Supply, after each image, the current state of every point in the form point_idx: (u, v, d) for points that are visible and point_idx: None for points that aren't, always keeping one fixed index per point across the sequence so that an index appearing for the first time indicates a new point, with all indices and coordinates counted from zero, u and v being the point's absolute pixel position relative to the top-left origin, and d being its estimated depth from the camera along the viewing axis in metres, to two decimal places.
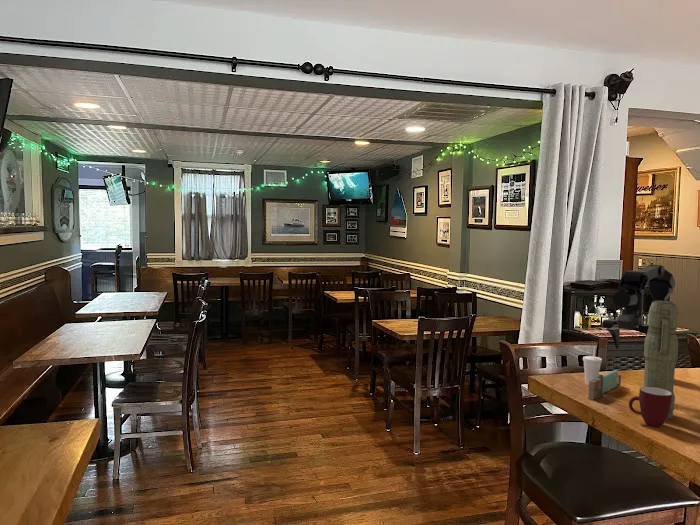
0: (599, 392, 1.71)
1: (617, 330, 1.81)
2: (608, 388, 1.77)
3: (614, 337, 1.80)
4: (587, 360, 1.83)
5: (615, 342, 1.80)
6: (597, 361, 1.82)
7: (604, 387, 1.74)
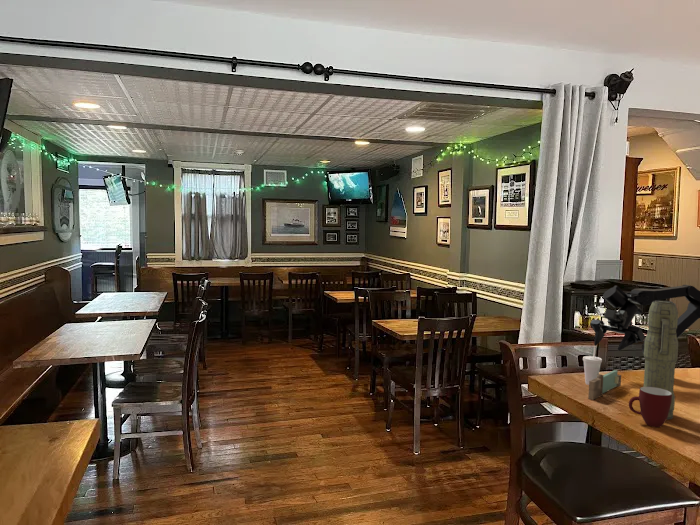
0: (599, 392, 1.71)
1: (602, 332, 1.95)
2: (608, 388, 1.77)
3: (597, 333, 1.94)
4: (587, 360, 1.83)
5: (595, 338, 1.93)
6: (597, 361, 1.82)
7: (604, 387, 1.74)
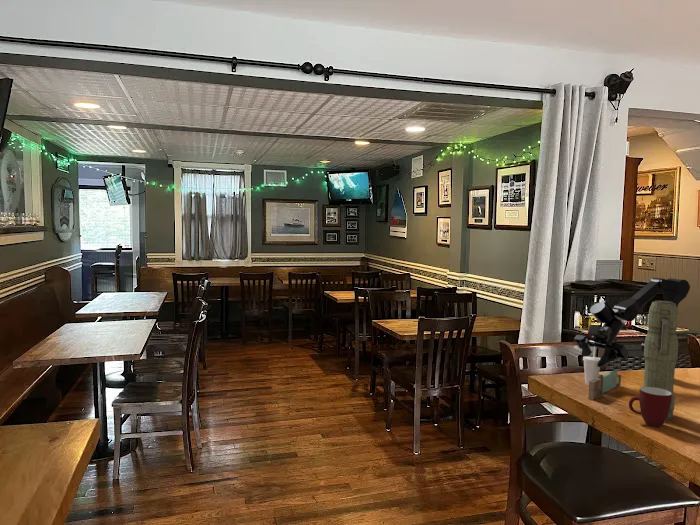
0: (599, 392, 1.71)
1: (589, 349, 1.90)
2: (608, 388, 1.77)
3: (583, 350, 1.88)
4: (587, 360, 1.83)
5: (582, 355, 1.87)
6: (597, 361, 1.82)
7: (604, 387, 1.74)
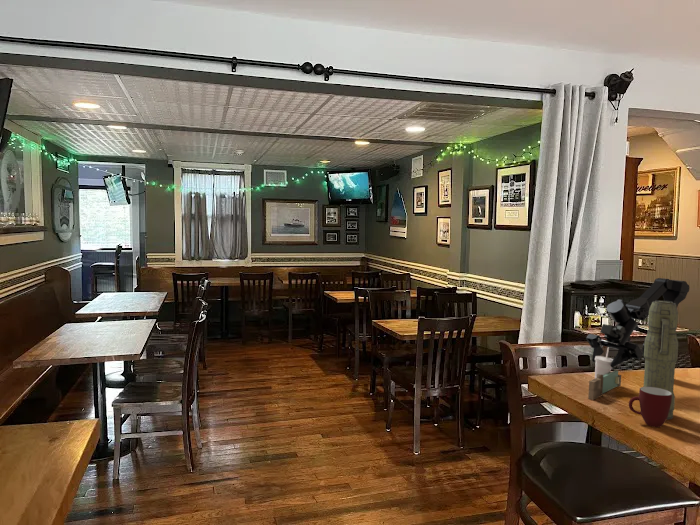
0: (599, 392, 1.71)
1: (601, 348, 1.86)
2: (608, 388, 1.77)
3: (595, 349, 1.84)
4: (600, 361, 1.79)
5: (594, 354, 1.84)
6: (610, 362, 1.78)
7: (604, 387, 1.74)
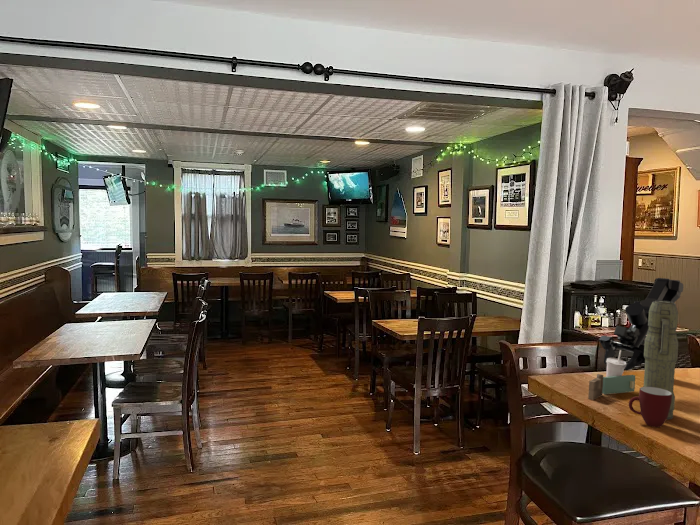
0: (599, 392, 1.71)
1: (613, 350, 1.82)
2: (616, 391, 1.74)
3: (607, 351, 1.81)
4: (611, 364, 1.75)
5: (606, 356, 1.80)
6: (622, 366, 1.74)
7: (608, 388, 1.73)
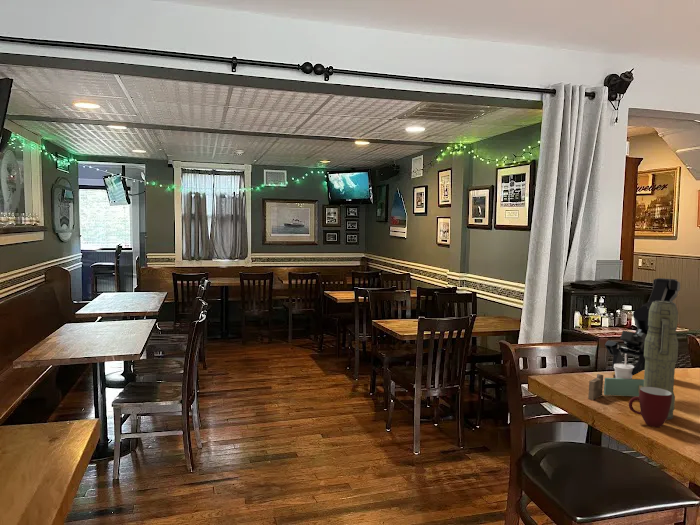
0: (599, 392, 1.71)
1: (621, 355, 1.80)
2: (621, 393, 1.72)
3: (615, 357, 1.78)
4: (617, 368, 1.73)
5: (614, 362, 1.78)
6: (628, 369, 1.71)
7: (609, 389, 1.72)
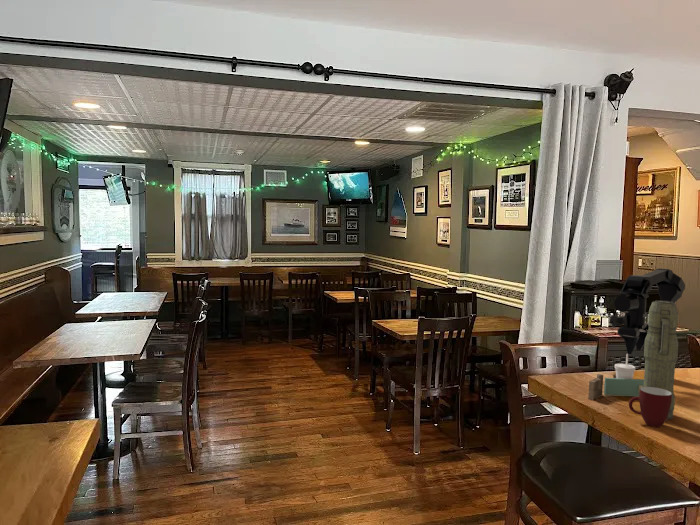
0: (599, 392, 1.71)
1: (641, 333, 1.88)
2: (621, 393, 1.72)
3: None
4: (618, 368, 1.73)
5: None
6: (629, 369, 1.72)
7: (609, 389, 1.72)
